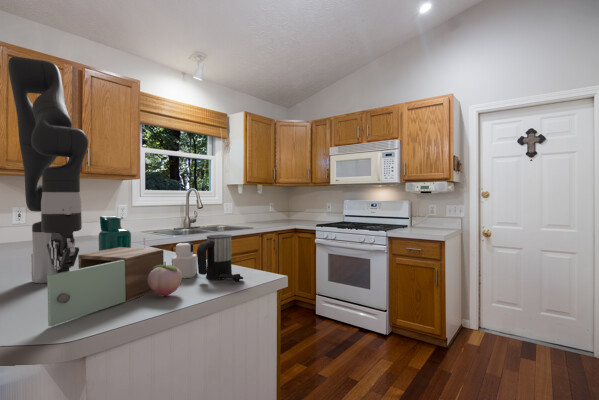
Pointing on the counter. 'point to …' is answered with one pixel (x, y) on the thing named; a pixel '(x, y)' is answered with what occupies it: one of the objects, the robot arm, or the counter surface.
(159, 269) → the decorative fruit
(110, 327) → the counter surface
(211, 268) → the milk frother
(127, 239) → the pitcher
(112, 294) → the cabinet door
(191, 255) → the medicine bottle
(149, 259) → the cabinet
